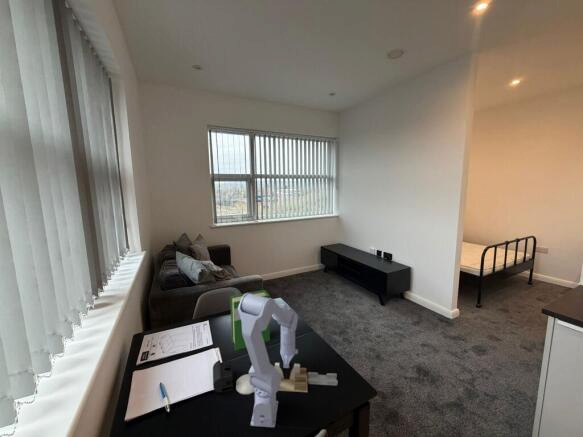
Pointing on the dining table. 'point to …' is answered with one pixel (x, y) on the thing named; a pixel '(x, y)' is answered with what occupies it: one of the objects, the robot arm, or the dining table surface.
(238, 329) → the hardback book
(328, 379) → the plate stand
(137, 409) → the dining table surface
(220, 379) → the end cap
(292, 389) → the dish rack
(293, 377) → the white curved panel
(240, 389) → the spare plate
